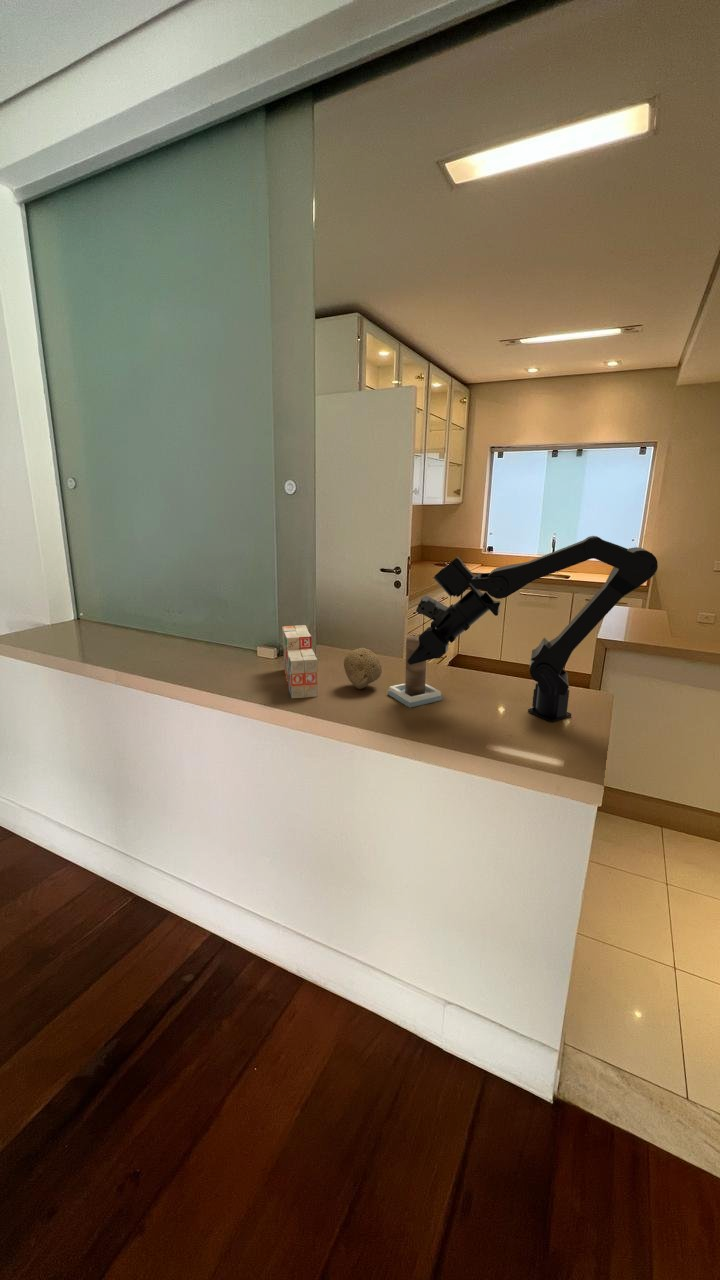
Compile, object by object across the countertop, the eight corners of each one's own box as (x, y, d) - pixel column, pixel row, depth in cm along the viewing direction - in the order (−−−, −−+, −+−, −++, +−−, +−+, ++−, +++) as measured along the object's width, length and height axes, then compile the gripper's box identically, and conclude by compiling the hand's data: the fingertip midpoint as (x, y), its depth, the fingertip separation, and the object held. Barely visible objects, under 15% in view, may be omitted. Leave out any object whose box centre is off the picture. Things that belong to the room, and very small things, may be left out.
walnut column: (429, 692, 119) (431, 638, 116) (417, 698, 116) (418, 642, 112) (412, 688, 122) (414, 635, 118) (401, 693, 119) (402, 639, 115)
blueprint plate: (442, 699, 118) (442, 691, 117) (409, 707, 113) (409, 699, 113) (419, 687, 125) (419, 679, 125) (387, 694, 121) (387, 686, 120)
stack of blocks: (318, 697, 119) (317, 646, 116) (291, 699, 118) (289, 648, 115) (307, 668, 140) (305, 624, 136) (283, 669, 138) (281, 625, 135)
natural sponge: (375, 680, 130) (375, 642, 127) (386, 692, 122) (387, 652, 119) (340, 683, 128) (340, 644, 125) (349, 696, 120) (349, 655, 117)
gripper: (447, 578, 119) (400, 621, 125) (430, 592, 102) (377, 641, 108) (479, 614, 119) (430, 655, 125) (469, 634, 102) (413, 680, 108)
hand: (413, 656), depth 117 cm, fingers open, 9 cm apart
